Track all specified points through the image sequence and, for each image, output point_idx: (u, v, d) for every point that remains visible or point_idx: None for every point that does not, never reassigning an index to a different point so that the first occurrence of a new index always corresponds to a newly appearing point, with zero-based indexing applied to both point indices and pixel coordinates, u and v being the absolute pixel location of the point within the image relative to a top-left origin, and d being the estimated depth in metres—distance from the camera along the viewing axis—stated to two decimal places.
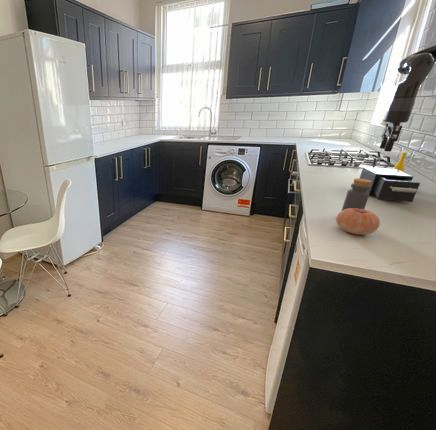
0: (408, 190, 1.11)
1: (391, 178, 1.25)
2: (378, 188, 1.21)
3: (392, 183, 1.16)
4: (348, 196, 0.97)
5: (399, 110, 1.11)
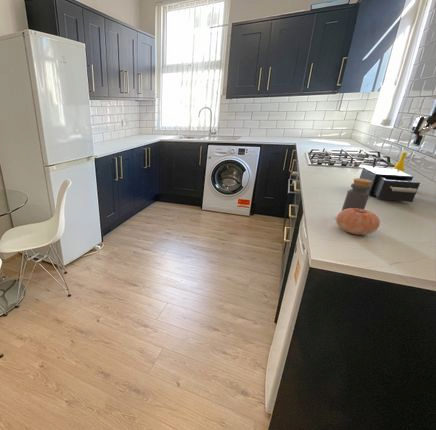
0: (408, 190, 1.11)
1: (391, 178, 1.25)
2: (378, 188, 1.21)
3: (392, 183, 1.16)
4: (348, 196, 0.97)
5: (435, 100, 1.00)
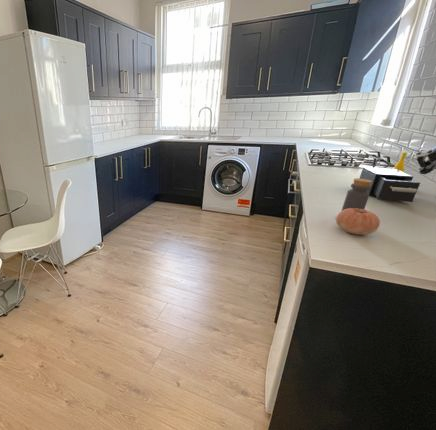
0: (408, 190, 1.11)
1: (391, 178, 1.25)
2: (378, 188, 1.21)
3: (392, 183, 1.16)
4: (348, 196, 0.97)
5: None
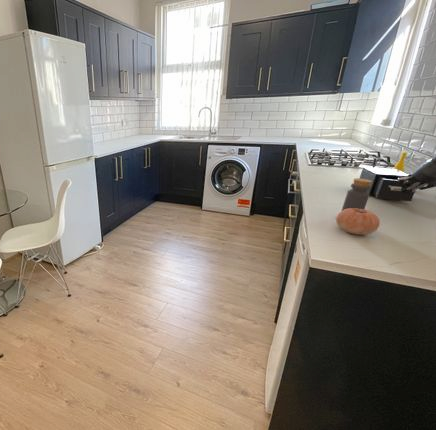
0: None
1: (390, 177, 1.26)
2: (377, 187, 1.22)
3: (391, 182, 1.16)
4: (348, 196, 0.97)
5: (421, 166, 0.99)
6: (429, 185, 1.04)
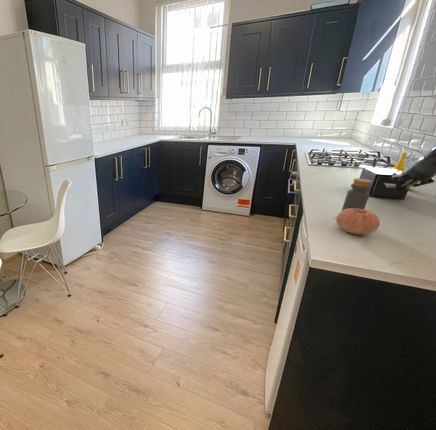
0: None
1: None
2: None
3: (386, 180, 1.20)
4: (348, 196, 0.97)
5: (414, 163, 1.02)
6: (422, 182, 1.08)
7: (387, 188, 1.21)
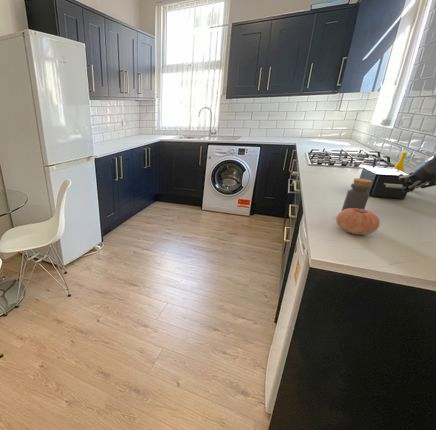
0: (401, 186, 1.16)
1: None
2: None
3: (386, 179, 1.20)
4: (348, 196, 0.97)
5: (423, 164, 0.98)
6: (431, 183, 1.03)
7: (387, 188, 1.21)
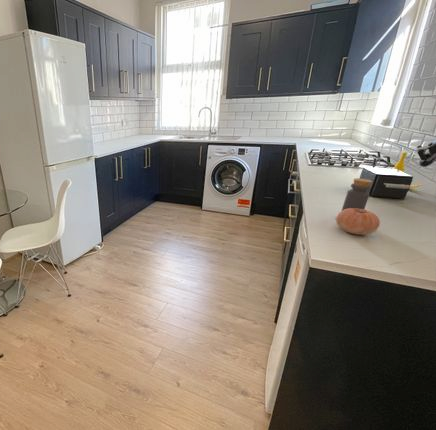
0: (401, 186, 1.16)
1: None
2: None
3: (386, 179, 1.20)
4: (348, 196, 0.97)
5: None
6: None
7: (387, 188, 1.21)
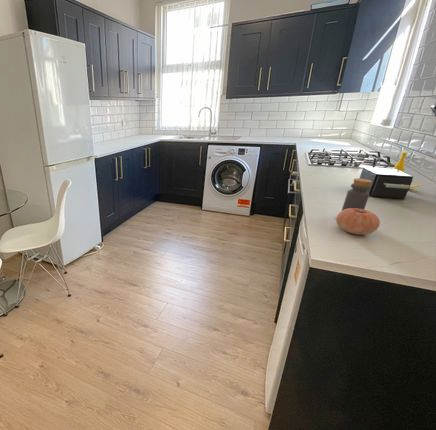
0: (401, 186, 1.16)
1: None
2: None
3: (386, 179, 1.20)
4: (348, 196, 0.97)
5: None
6: None
7: (387, 188, 1.21)
